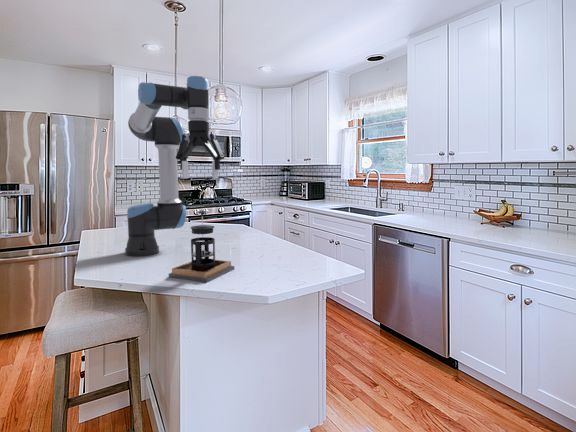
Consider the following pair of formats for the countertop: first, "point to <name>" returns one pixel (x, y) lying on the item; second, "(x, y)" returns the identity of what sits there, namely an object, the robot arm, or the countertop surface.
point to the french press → (199, 253)
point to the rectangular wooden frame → (187, 273)
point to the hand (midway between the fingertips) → (200, 178)
